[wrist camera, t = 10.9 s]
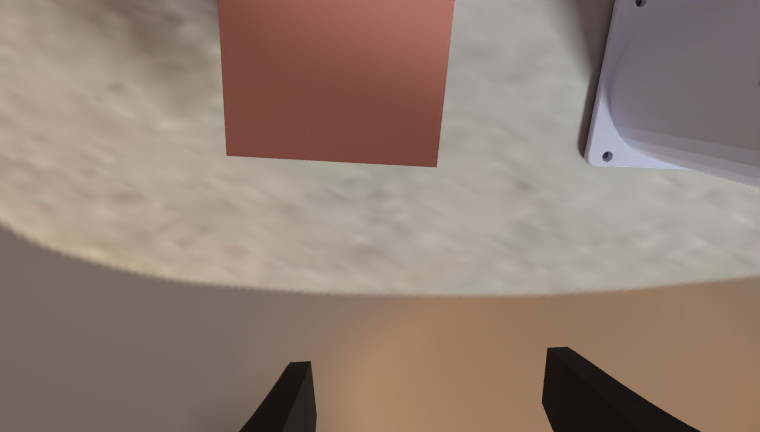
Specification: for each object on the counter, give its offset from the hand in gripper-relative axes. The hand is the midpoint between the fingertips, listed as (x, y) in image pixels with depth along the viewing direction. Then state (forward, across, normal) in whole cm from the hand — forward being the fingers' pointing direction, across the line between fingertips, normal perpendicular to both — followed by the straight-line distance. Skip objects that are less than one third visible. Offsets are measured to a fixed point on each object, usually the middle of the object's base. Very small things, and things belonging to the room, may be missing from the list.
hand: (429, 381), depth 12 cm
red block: (+4, +2, -9) cm, 10 cm away
